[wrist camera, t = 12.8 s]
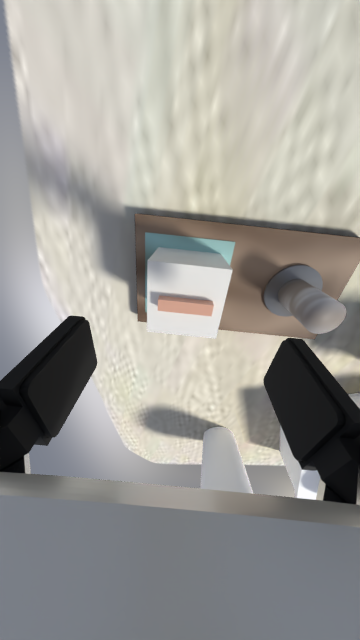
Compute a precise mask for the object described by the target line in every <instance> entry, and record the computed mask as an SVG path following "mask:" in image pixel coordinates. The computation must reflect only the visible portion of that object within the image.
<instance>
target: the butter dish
mask: <svg viewBox="0 0 360 640" xmlns="http://www.w3.org/2000/svg"><path fill="white" fill-rule="evenodd" d="M348 395H349V397H350V398H351V399H352V400H353V401H354V403H355V404H356V405H357V406H358V407H359V409H360V393H354V394H348ZM279 451H280V453H281V456H282V459H283V461H284V464H285V467H286V469H287V472H288V474H289V477H290V480H291V482H292V485H293V488H294V490H295V496H294V498H302V499H313V500H316V496H317V491H318V486H319V481H320V476H319V473H318V471H317V470H316V471H310V470H302V469H301V466H300V464H299V462H298V461H297V460H296V459H295V458H294V456H293V454H292V452H291V449H290V447H289V445H288V442H287V440H286V437H285V435H284V432H283V430H282V427H281V425H280V446H279Z"/></svg>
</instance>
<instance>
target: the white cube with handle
mask: <svg viewBox="0 0 360 640" xmlns="http://www.w3.org/2000/svg"><path fill="white" fill-rule="evenodd" d="M232 271H233V269H232V268H231V267H230V265H229V264H228V263H227V261H226V260H225V259H224V257H223V256H222V255H221V254H218V253H209V252H200V251H191V250H182V249H173V248H163V247H158V249H157V250H156V251H155V252H154V253H153V255H152V256H151V257H150V258H149V259H148V260H147V331H148V332H158V333H167V334H177V335H187V336H196V337H206V338H215V339H216V336H217V332H218V328H219V324H220V320H221V316H222V312H223V308H224V304H225V299H226V295H227V291H228V287H229V283H230V279H231V275H232Z"/></svg>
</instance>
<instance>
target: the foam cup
mask: <svg viewBox="0 0 360 640" xmlns="http://www.w3.org/2000/svg"><path fill="white" fill-rule="evenodd" d="M200 489H209V490H220V491H231V492H241V493H251V494H253V491H252V488H251V485H250V482H249V479H248V475H247V472H246V470H245V466H244V463H243V460H242V457H241V454H240V451H239V448H238V445H237V442H236V439H235V436H234V433H233V432H232V431H231V430H230V429H228V428H226V427H212V428H210V429H208V430H206V431H205V432H204V437H203V452H202V469H201V486H200Z"/></svg>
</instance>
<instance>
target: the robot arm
mask: <svg viewBox="0 0 360 640" xmlns="http://www.w3.org/2000/svg"><path fill="white" fill-rule="evenodd" d="M96 366H97V358H96V354H95V349H94V344H93V339H92V335H91V330H90V325H89V322H88V321H87V320H85V318H84V317H80V316H69V317H68V318H67V319H66V320H64V321H63V322H62V323H61V324H60V325H59V326H58V327H57V328H56V329H55V330H54V331H53V332H52V333H51V334H50V335H49V336H48V337H46V338H45V339H44V340H43V341H42V342H41V343H40V344H39V345H38V346H37V347H36V348H35V349H34V350H33V351H31V352H30V354H28V355H27V356H26V357H25V358H24V359H23V360H22V361H21V362H20V363H19V364H18V365H17V366H16V367H14V368H13V369H12V370H11V371H10V372H9V373H8V374H7V375H6V376H5V377H4V378H3V379H2V380H1V381H0V640H360V409H359V407H358V406H357V405H356V404H355V403H354V401H353V400H352V399H351V398H350V397H349V395H348V394H347V393H346V392H345V390H344V389H343V388H342V387H341V386H340V384H339V383H338V382H337V381H336V379H335V378H334V377H333V376H332V375H331V373H330V372H329V371H328V370H327V368H326V367H325V366H324V365H323V364H322V362H321V361H320V360H319V359H318V358H317V356H316V355H315V354H314V353H313V351H312V350H311V349H310V348H309V347H308V345H307V344H306V343H305V342H304V341H303V340H302V339H296V338H287V339H286V340H285V341H283V342H282V343H281V345H280V347H279V349H278V351H277V353H276V355H275V357H274V359H273V361H272V363H271V365H270V367H269V369H268V371H267V373H266V375H265V377H264V385H265V388H266V390H267V393H268V395H269V398H270V400H271V403H272V405H273V408H274V410H275V413H276V415H277V417H278V420H279V422H280V425H281V427H282V430H283V432H284V435H285V437H286V440H287V442H288V445H289V447H290V449H291V452H292V454H293V456H294V458H295V459H296V460H297V461H298V462H299V464H300V466H301V469H302V470H310V471H316V470H317V471H318V473H319V476H320V481H319V486H318V491H317V496H316V500H313V499H302V498H292V497H282V496H271V495H261V494H251V493H241V492H231V491H220V490H209V489H199V488H188V487H177V486H166V485H155V484H145V483H133V482H122V481H110V480H100V479H88V478H76V477H65V476H53V475H39V474H31V472H30V461H29V451H30V450H31V448H32V447H33V445H34V444H36V445H46V446H47V445H48V444H49V442H50V440H51V438H52V437H55V436H56V435H58V433H59V431H60V430H61V428H62V426H63V424H64V423H65V421H66V419H67V417H68V416H69V414H70V412H71V410H72V409H73V407H74V405H75V403H76V402H77V400H78V398H79V396H80V394H81V393H82V391H83V389H84V387H85V386H86V384H87V382H88V380H89V379H90V377H91V375H92V374H93V372H94V370H95V368H96Z"/></svg>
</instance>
